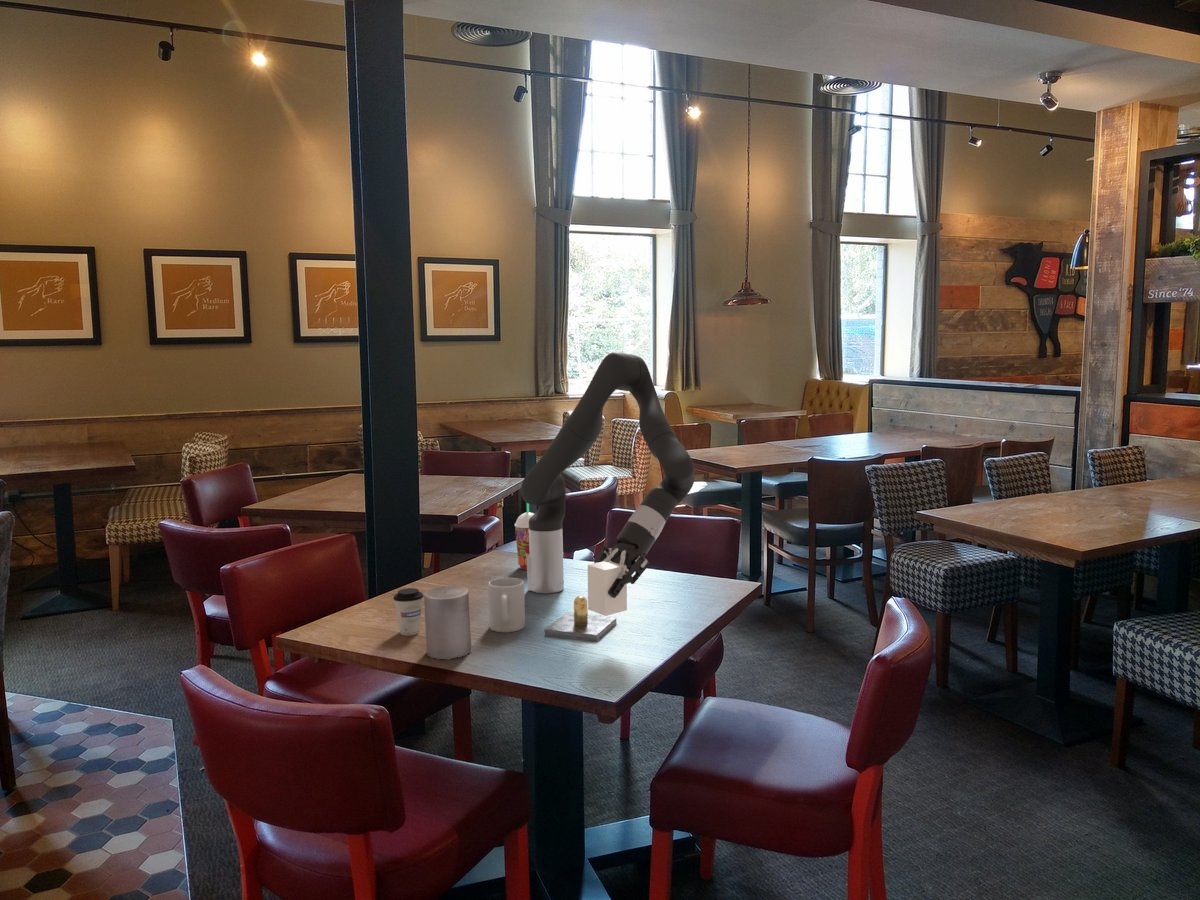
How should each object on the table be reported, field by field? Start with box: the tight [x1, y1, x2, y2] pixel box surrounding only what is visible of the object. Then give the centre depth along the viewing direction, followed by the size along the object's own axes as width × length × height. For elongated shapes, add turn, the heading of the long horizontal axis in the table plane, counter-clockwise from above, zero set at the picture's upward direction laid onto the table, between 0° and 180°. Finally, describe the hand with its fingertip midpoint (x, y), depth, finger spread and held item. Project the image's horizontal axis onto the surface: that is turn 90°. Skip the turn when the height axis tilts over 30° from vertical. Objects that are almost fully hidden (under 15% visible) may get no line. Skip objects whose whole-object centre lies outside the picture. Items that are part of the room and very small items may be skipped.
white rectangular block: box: [587, 561, 628, 617], centre depth 182 cm, size 6×6×10 cm
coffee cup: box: [393, 587, 424, 636], centre depth 198 cm, size 7×7×10 cm
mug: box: [487, 577, 526, 633], centre depth 199 cm, size 12×8×11 cm
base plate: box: [543, 595, 617, 642], centre depth 197 cm, size 13×13×8 cm
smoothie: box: [514, 503, 535, 571], centre depth 255 cm, size 8×8×20 cm
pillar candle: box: [423, 585, 472, 660], centre depth 184 cm, size 10×10×15 cm
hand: (601, 592), depth 181 cm, fingers closed on white rectangular block, 6 cm apart
